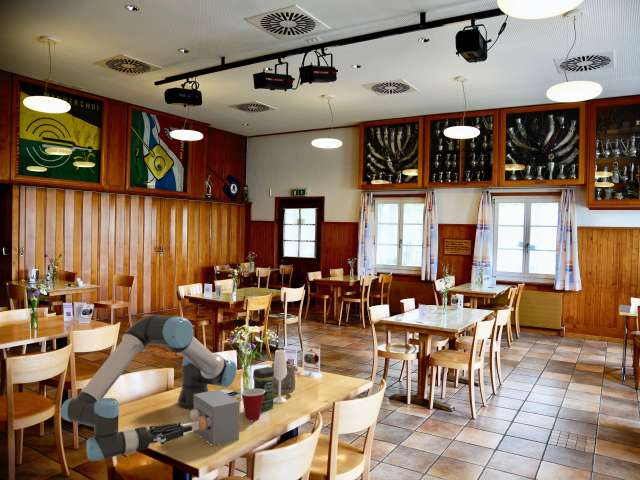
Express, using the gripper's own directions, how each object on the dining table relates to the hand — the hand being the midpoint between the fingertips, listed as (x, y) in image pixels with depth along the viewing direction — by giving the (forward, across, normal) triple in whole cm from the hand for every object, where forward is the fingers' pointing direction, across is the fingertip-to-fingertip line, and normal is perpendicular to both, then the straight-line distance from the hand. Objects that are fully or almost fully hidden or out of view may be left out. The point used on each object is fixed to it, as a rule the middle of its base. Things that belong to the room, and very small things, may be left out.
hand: (198, 425), depth 189 cm
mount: (+9, -4, -8) cm, 13 cm away
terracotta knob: (+6, 0, -2) cm, 6 cm away
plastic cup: (+31, -12, -8) cm, 34 cm away
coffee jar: (+41, -21, -8) cm, 47 cm away
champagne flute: (+53, -25, -8) cm, 59 cm away
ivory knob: (+7, -9, -2) cm, 11 cm away
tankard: (+63, -35, -8) cm, 72 cm away
